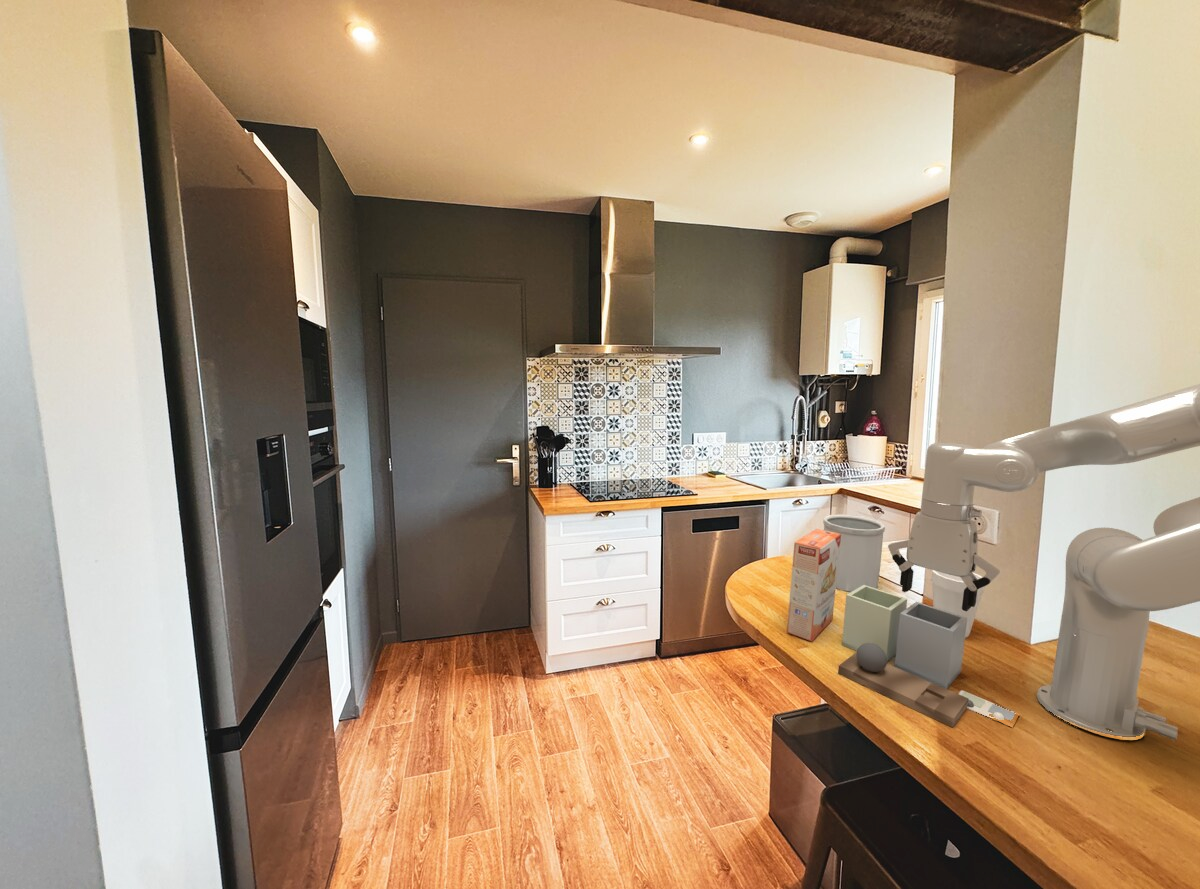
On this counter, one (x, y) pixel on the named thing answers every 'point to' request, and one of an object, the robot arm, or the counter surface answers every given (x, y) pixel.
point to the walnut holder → (908, 690)
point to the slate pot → (930, 643)
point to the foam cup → (953, 596)
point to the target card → (986, 707)
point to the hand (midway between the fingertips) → (935, 599)
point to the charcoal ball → (871, 657)
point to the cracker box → (813, 583)
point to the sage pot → (872, 619)
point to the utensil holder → (857, 550)
